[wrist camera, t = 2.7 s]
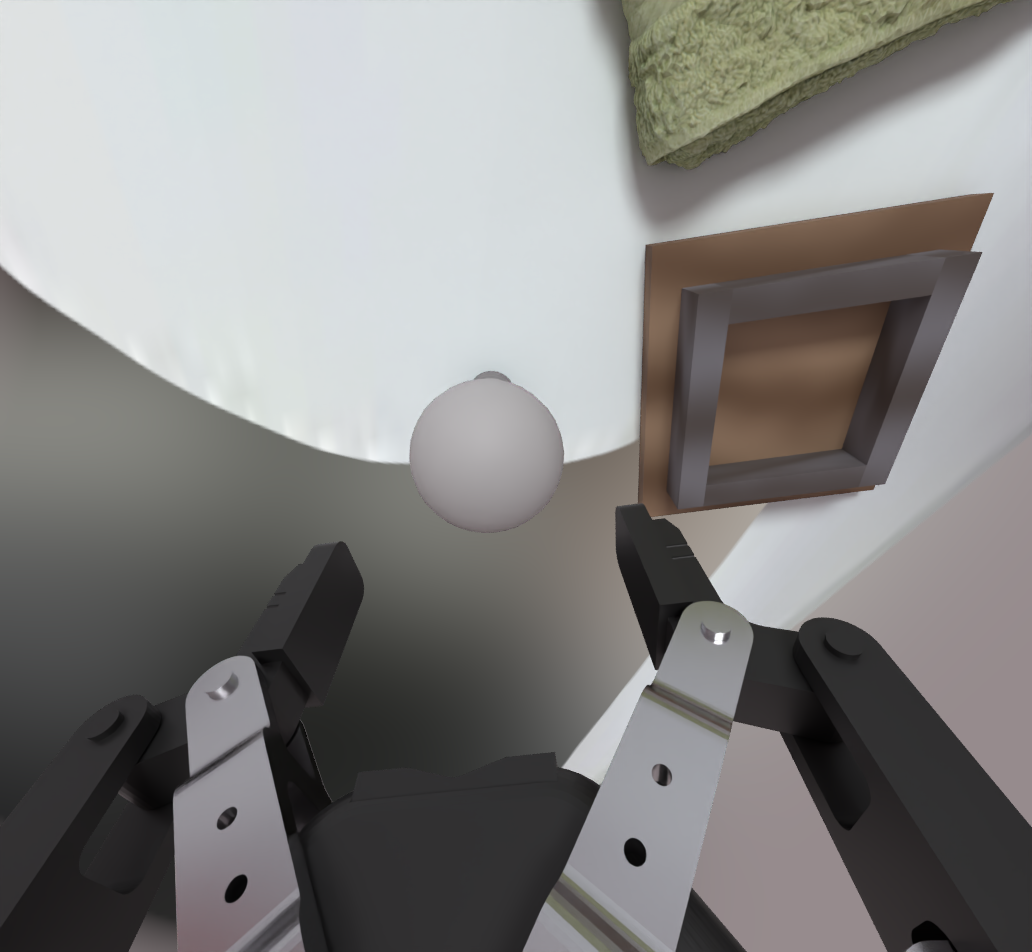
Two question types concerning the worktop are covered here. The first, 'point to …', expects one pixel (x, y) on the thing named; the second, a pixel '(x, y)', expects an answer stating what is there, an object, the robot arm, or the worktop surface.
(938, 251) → the socket stand
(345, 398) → the worktop surface
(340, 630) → the robot arm
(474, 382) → the lightbulb
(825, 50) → the washcloth
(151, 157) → the worktop surface
